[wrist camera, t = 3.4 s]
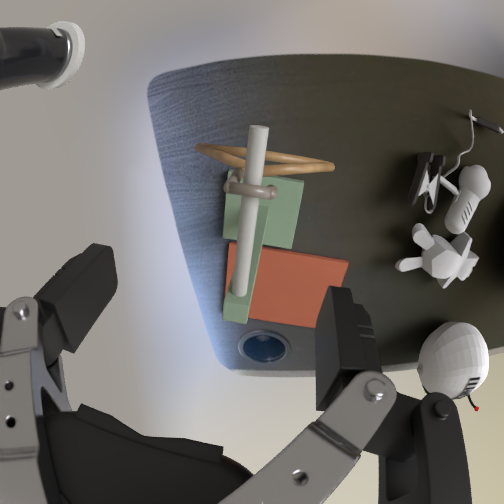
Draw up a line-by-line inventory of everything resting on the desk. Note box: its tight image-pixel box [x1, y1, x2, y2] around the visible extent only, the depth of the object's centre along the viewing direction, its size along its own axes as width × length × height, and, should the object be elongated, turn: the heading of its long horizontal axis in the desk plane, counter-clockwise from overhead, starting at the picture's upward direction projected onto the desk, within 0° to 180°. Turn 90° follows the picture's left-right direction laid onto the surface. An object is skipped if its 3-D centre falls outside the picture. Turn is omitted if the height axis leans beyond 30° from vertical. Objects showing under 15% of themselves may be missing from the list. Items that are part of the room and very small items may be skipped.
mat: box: [225, 241, 348, 328], centre depth 48 cm, size 18×14×1 cm
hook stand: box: [222, 125, 304, 324], centre depth 31 cm, size 10×19×22 cm, turn 174°
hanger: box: [195, 143, 335, 200], centre depth 23 cm, size 14×1×11 cm, turn 84°
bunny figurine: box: [395, 223, 479, 288], centre depth 39 cm, size 10×5×15 cm
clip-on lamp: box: [406, 109, 504, 234], centre depth 32 cm, size 12×6×18 cm
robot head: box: [417, 322, 489, 411], centre depth 41 cm, size 16×14×20 cm
